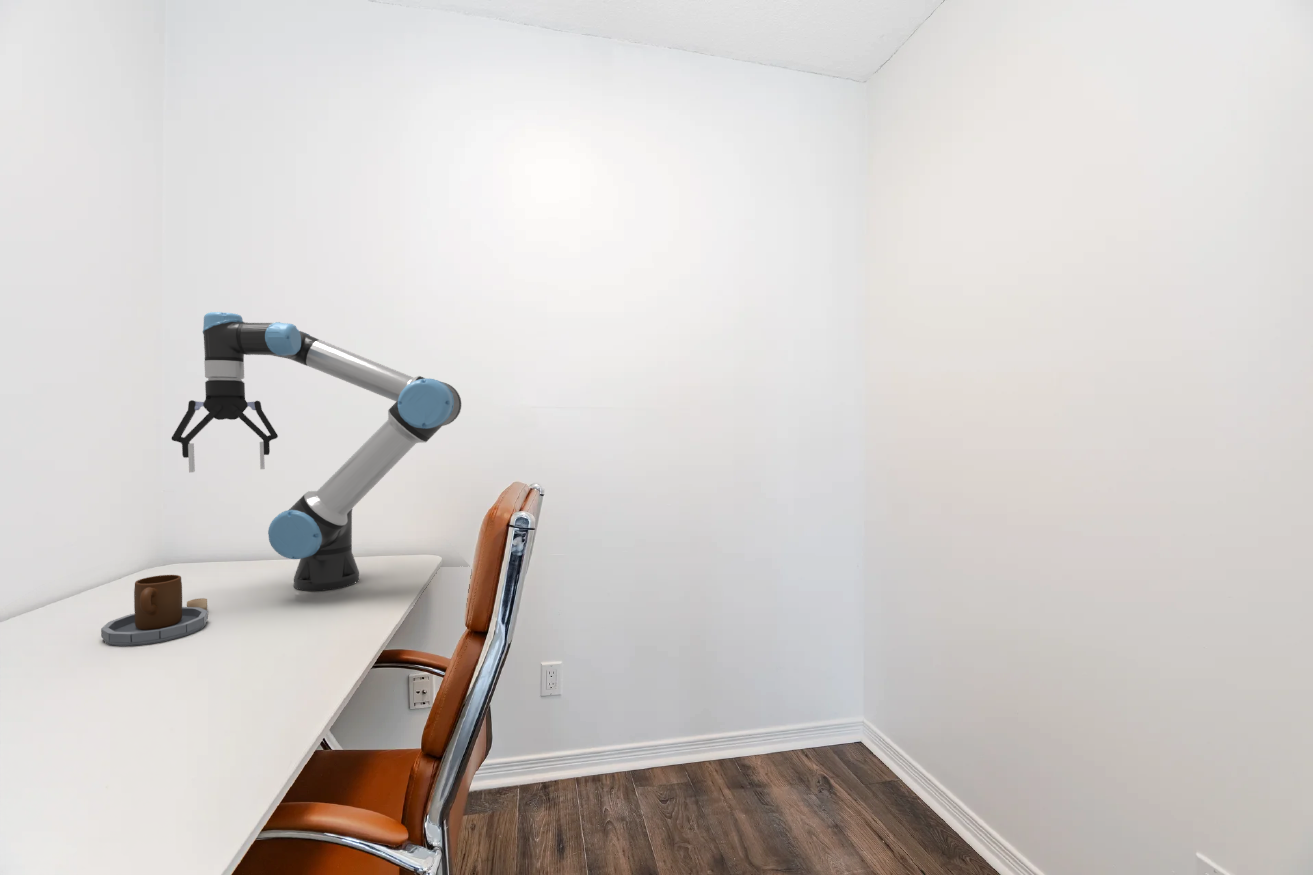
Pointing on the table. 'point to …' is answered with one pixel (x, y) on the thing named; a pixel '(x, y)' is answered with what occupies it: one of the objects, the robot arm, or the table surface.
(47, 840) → the table surface
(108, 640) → the saucer
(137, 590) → the mug
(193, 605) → the bead
